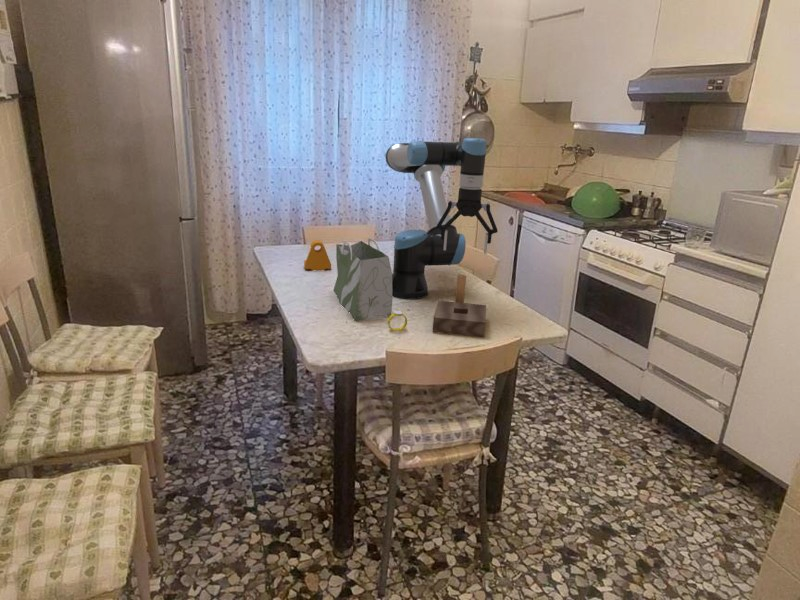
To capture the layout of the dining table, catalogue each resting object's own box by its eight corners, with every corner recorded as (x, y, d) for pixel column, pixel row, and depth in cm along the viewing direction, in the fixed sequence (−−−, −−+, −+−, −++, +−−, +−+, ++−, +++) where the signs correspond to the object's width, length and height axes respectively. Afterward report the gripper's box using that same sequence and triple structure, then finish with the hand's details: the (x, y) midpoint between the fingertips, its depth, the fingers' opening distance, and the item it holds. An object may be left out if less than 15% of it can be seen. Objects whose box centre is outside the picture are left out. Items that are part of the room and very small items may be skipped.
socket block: (432, 332, 164) (433, 317, 162) (437, 314, 179) (438, 300, 177) (484, 337, 162) (485, 322, 160) (484, 319, 177) (486, 305, 175)
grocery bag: (329, 290, 197) (329, 229, 189) (365, 288, 202) (366, 228, 194) (352, 322, 169) (354, 251, 161) (393, 318, 174) (396, 249, 166)
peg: (454, 309, 184) (457, 276, 180) (455, 306, 187) (457, 274, 183) (463, 310, 184) (466, 277, 180) (463, 307, 187) (466, 275, 183)
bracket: (329, 265, 229) (329, 238, 225) (331, 270, 222) (331, 242, 219) (304, 266, 227) (303, 238, 223) (305, 271, 220) (304, 242, 216)
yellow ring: (404, 328, 167) (406, 310, 165) (406, 332, 164) (409, 314, 162) (386, 328, 165) (388, 310, 163) (388, 331, 162) (390, 313, 160)
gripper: (431, 186, 170) (427, 250, 177) (510, 191, 167) (502, 256, 174) (433, 183, 177) (429, 245, 184) (508, 188, 174) (501, 251, 181)
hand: (464, 251), depth 179 cm, fingers open, 13 cm apart
